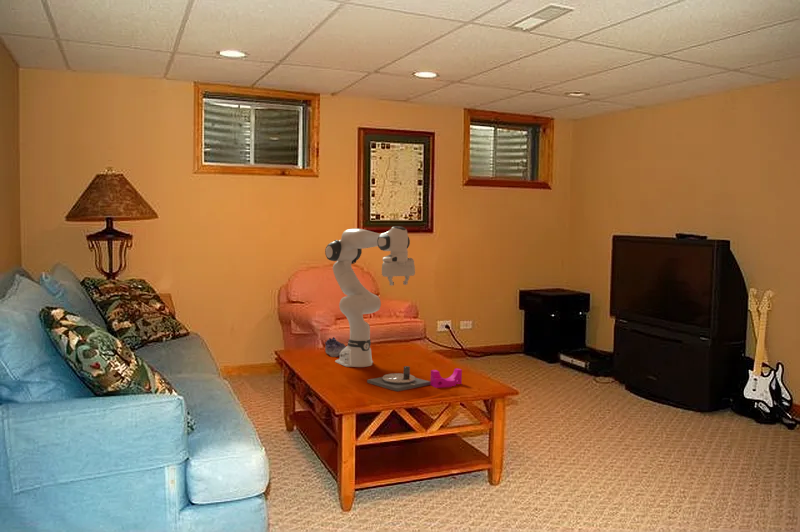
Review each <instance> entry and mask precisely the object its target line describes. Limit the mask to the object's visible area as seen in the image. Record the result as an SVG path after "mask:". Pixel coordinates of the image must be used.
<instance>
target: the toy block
mask: <svg viewBox="0 0 800 532" xmlns="http://www.w3.org/2000/svg"><path fill="white" fill-rule="evenodd" d="M462 373H463V369H461V368H457V367H456V368H454V370H453V373H452V374H451V375H450V376H449V377H446V378H444V377H442V376H441V373H440V371H439V370H437V369H432V370H430V382H431V383H430V386H432V387H433V388H436V389H437V388H451V387H452V386H454V387H456V386H457V385H456V384H461V385H462V379H463V378H462V377H463V376H462V375H463V374H462Z"/></svg>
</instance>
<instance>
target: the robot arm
mask: <svg viewBox="0 0 800 532" xmlns="http://www.w3.org/2000/svg"><path fill="white" fill-rule="evenodd" d="M408 234H409V233H408V230H407V228H405V227H403V226H399V225H395V226H392V227H391V228H390V229H389V230H388V231H386V232H382V233H378V232H374V231H371V230H367V229H363V228H348V229H345V230H344V231H343V232H342V234H341V238H340V239H339V240H338V239H335V240H334V241H331V242H330V243H328V244H327V245H326V247H325V249H324V254H325V257H326V259H327V260H329V261H331V262H334V264H333V266H332V272H333V275H334V277H335V280H336V281H337V284H338V286H339V288H340V290H341V292H342V293H343V294H344V295H345V296H343V297H341V299H340V300H339V305H338V306H339V307H338V309H339V310H340V312H341V313H342V314H343V315H344V316H345V317H346V319H347V321H348V326H349V339H348V340H346V342H347V346H346V345H345V346H346V347H345V348H344V349H343V350H342V351H341V352H340V356H338V357H339V358H338V359H336V360H335V361H334V362H335V363H337V364H339V365H342V366H344V367H346V368H347V367H348V368H350V367H351V368H352V367H355V368H365V367H371V366H373V363H374V360H373V358H372V348H371V344H372V343H371V342H372V341H371V338H370V337H371V326H370V323H368V322H366V321H365V320H364V315H368V314H373V313H375V312H378V311H380V309H381V305H382V303H381V299H380V297H379V296H378V295H377V294H374V293H373V292H371V291H369V290H368V289H367V288H366V287H365V286H364V285H363V284H362V282H361V281H360V279H359V278H358V276H357V275H356V272H355V271H354V269H353V267H352V265H354V264H357V261H359V259H360V258H361V256H362V253H363V251H362V249H370V248H374V247H376V248H377V247H378V248H379V249H380V250H381V251H384V252H390V254H388V255H385V256H383V257H382V264H381V275H382V277H384V278H385V277H387V280H388V283H389V286H390V287H391V286H392V287H393V286H394V285H395V282H394V281H393V277H404V280H403V281H402V283H403V286H404V285H405V286H406V285H408V281H409V279H410V276H415V275H416V267H415V260H414V258H412V257H409V256H408V253H409V251H408V248H409V247H410V244H411V243H410V242H411V239H410V237H409V236H408Z"/></svg>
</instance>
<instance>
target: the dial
mask: <svg viewBox="0 0 800 532" xmlns="http://www.w3.org/2000/svg"><path fill="white" fill-rule="evenodd" d="M382 377H383V381H384V382H387V383H393V384H407V383H412V382H414V381H415V377H416V376H415V375H412V374H411V366H410V365H409V366H407V365H406V366H403V373H399V372H398V373H397V372H396V373H388V374H384V375H383V376H382Z"/></svg>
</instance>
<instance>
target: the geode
mask: <svg viewBox="0 0 800 532" xmlns="http://www.w3.org/2000/svg"><path fill="white" fill-rule="evenodd" d="M324 344H325V347H324V348H325V349H324V350H325V353H326V354H327V355H329V356H330V357H331V358H332V357H333V358H337V357H340V352H341V351H342V350H343V349H344V348H345V347H346V345H345V343H342V342H340V341H338V340H337V339H336V338H335V337H334V336H333V337H332V338H331V337H329V338H328V339H326V342H324Z"/></svg>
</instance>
